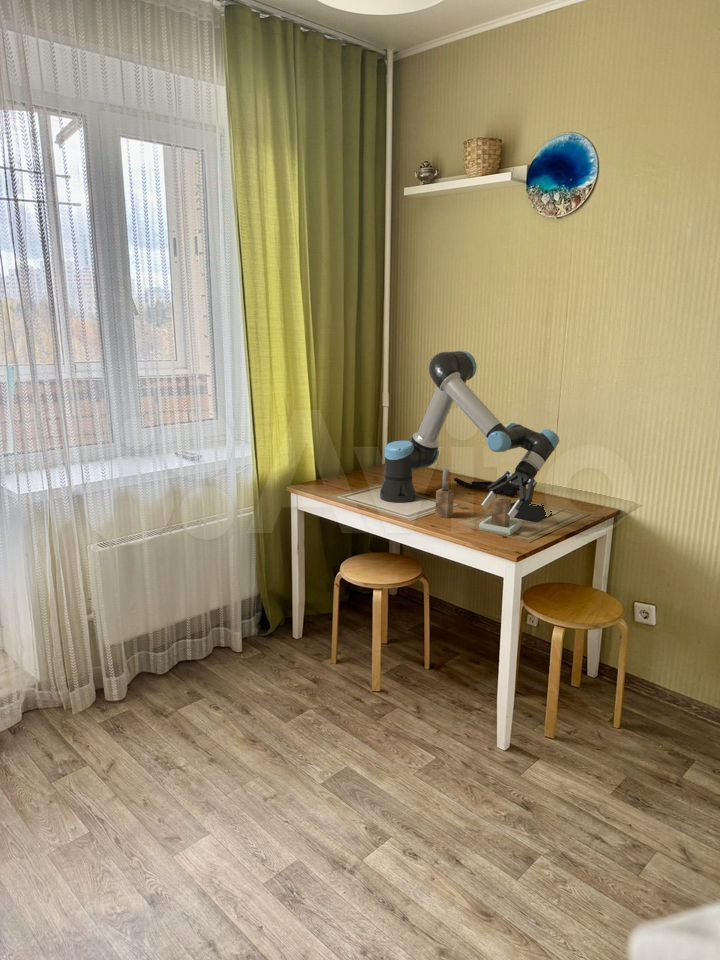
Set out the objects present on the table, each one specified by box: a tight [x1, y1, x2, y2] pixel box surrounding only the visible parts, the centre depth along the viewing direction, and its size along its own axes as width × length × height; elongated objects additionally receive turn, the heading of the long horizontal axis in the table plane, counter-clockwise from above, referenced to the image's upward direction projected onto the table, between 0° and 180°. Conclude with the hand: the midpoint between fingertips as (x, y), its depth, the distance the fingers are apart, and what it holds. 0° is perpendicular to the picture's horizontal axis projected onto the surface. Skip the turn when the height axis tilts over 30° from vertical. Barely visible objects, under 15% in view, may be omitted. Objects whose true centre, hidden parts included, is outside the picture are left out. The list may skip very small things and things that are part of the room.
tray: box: [478, 515, 522, 536], centre depth 252 cm, size 12×12×2 cm
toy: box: [453, 477, 520, 498], centre depth 305 cm, size 10×5×30 cm
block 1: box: [434, 468, 455, 519], centre depth 265 cm, size 5×5×18 cm
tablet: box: [490, 499, 553, 524], centre depth 275 cm, size 27×1×20 cm
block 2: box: [491, 496, 512, 528], centre depth 251 cm, size 5×5×10 cm
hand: (496, 511), depth 250 cm, fingers open, 13 cm apart
